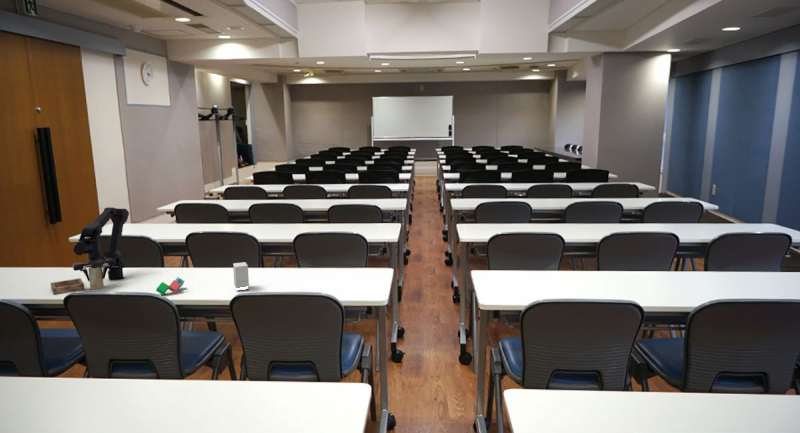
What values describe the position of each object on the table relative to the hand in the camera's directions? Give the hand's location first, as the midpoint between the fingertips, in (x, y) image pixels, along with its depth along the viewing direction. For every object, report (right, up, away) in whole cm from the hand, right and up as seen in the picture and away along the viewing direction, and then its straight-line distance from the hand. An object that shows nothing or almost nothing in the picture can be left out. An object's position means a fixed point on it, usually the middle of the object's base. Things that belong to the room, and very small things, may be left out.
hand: (96, 280), depth 256 cm
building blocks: (+41, -5, -6) cm, 42 cm away
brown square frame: (-14, -4, -2) cm, 14 cm away
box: (0, -4, +1) cm, 4 cm away
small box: (+75, -5, -1) cm, 76 cm away
